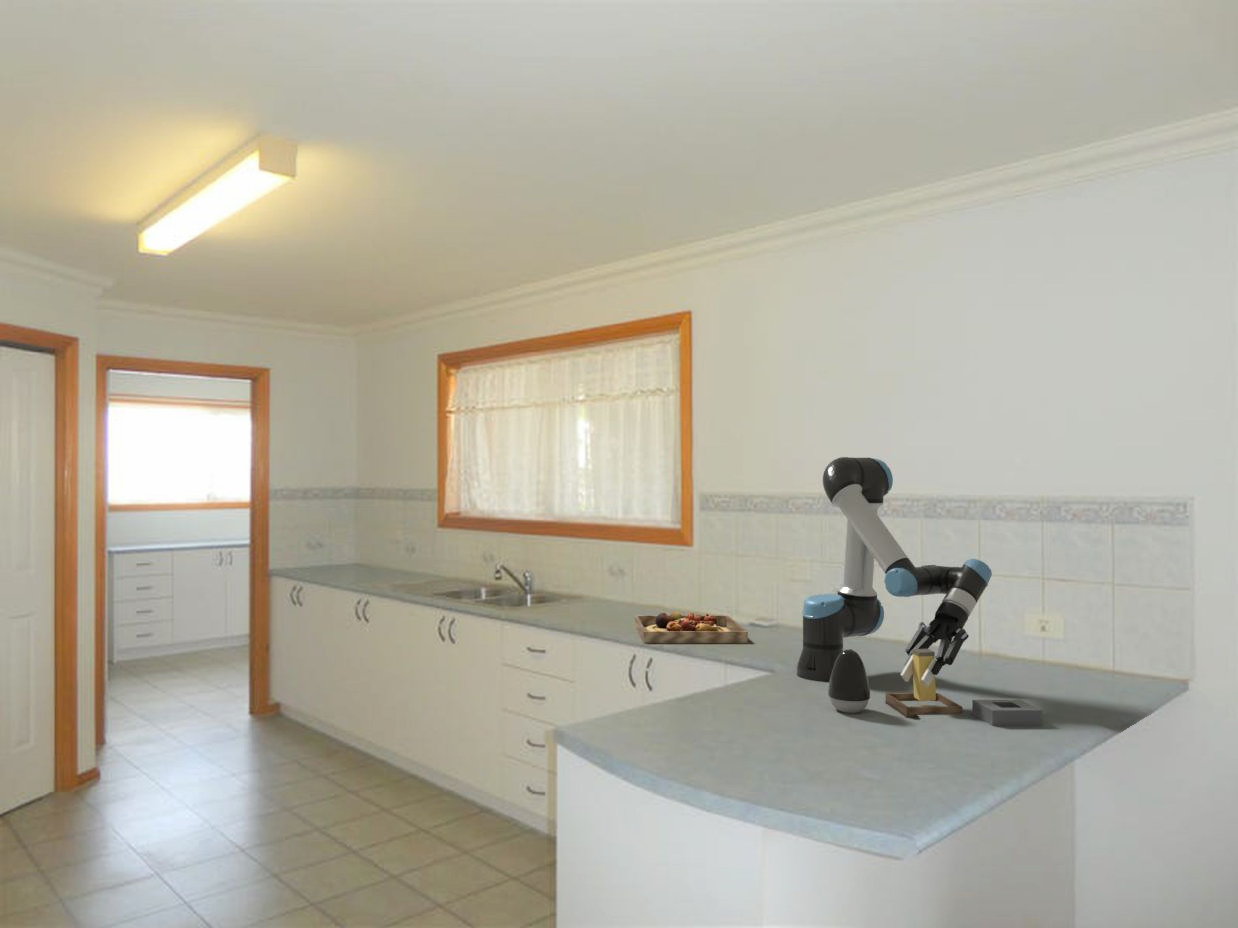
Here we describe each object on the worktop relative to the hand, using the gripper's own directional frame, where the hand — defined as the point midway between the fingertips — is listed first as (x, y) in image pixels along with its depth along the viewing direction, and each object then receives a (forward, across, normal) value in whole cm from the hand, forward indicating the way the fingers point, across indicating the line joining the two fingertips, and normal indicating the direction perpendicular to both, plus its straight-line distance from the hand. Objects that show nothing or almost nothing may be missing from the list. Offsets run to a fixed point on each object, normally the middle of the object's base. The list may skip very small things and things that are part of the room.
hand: (914, 680), depth 219 cm
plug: (+1, 0, -6) cm, 6 cm away
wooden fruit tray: (-9, +117, -19) cm, 119 cm away
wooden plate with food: (-8, +116, -20) cm, 118 cm away
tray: (+3, 0, -8) cm, 9 cm away
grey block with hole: (-2, -19, -13) cm, 23 cm away
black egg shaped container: (+15, +10, +3) cm, 18 cm away
